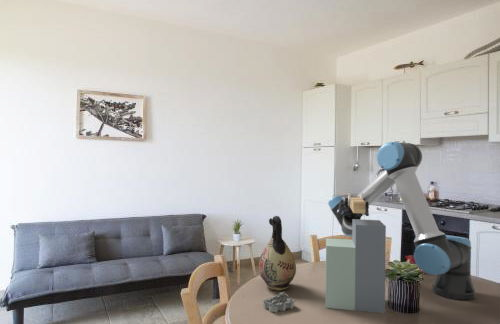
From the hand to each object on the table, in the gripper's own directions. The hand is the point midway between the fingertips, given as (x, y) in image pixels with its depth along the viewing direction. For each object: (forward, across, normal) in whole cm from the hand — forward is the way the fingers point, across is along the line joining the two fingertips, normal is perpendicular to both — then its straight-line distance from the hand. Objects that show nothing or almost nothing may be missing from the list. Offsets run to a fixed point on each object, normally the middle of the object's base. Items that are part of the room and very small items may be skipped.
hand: (355, 196), depth 140 cm
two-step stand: (-12, -1, +38) cm, 40 cm away
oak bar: (+1, 0, +6) cm, 6 cm away
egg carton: (-3, -27, +44) cm, 52 cm away
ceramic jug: (-20, -31, +34) cm, 50 cm away
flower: (-54, +31, +14) cm, 64 cm away
